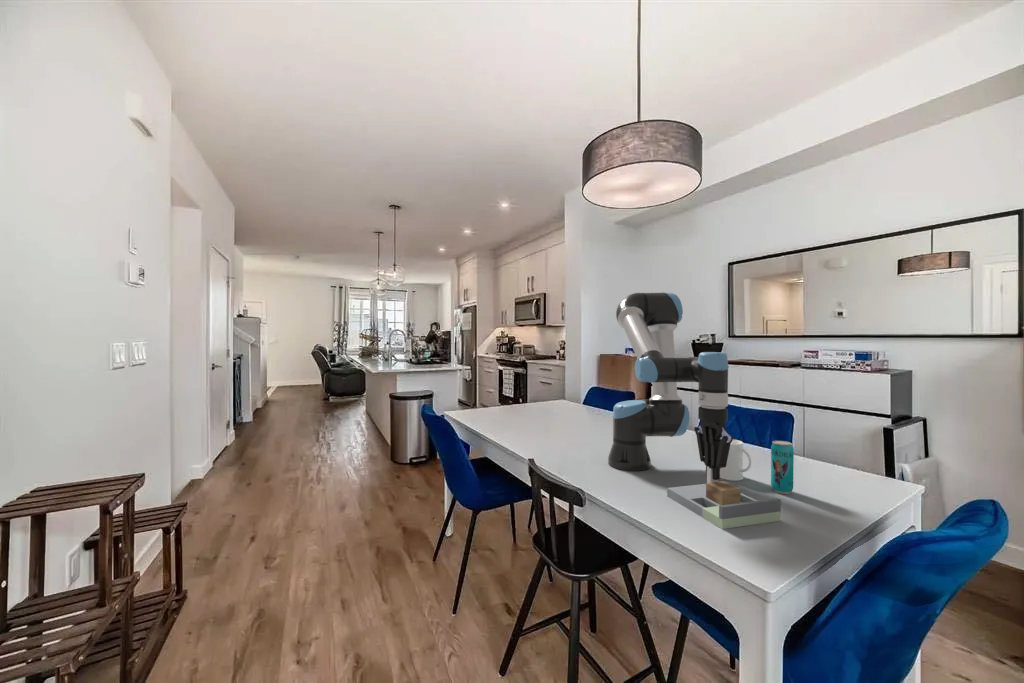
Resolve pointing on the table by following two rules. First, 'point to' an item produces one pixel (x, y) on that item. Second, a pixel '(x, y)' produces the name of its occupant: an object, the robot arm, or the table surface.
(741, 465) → the mug
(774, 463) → the beverage can
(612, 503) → the table surface
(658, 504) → the table surface
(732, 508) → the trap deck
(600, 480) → the table surface
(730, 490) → the block
